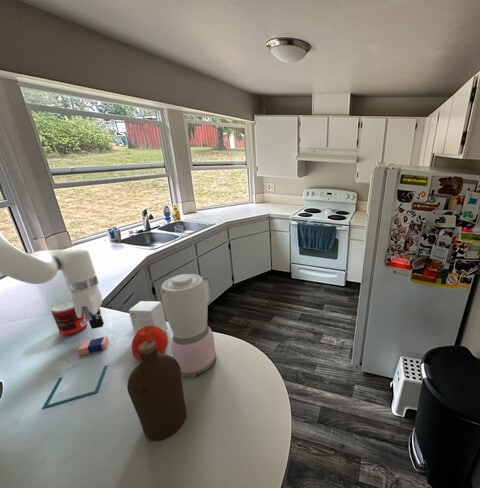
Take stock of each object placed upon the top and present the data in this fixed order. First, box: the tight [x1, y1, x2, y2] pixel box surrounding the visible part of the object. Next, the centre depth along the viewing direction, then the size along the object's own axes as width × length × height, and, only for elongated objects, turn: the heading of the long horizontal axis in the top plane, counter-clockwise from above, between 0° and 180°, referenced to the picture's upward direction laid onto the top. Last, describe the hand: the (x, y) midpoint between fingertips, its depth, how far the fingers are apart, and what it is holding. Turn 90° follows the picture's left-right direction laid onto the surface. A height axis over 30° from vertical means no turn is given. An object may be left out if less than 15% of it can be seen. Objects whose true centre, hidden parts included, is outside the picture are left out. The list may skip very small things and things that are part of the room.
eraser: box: [77, 336, 110, 356], centre depth 87 cm, size 7×4×3 cm, turn 117°
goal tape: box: [41, 364, 108, 410], centre depth 74 cm, size 12×11×1 cm
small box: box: [128, 300, 168, 335], centre depth 93 cm, size 8×6×13 cm
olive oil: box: [126, 341, 187, 442], centre depth 61 cm, size 11×11×25 cm
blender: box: [160, 273, 217, 379], centre depth 79 cm, size 16×12×32 cm
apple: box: [131, 325, 169, 362], centre depth 85 cm, size 10×10×10 cm
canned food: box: [50, 299, 88, 337], centre depth 95 cm, size 8×8×11 cm
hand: (97, 326), depth 92 cm, fingers closed
